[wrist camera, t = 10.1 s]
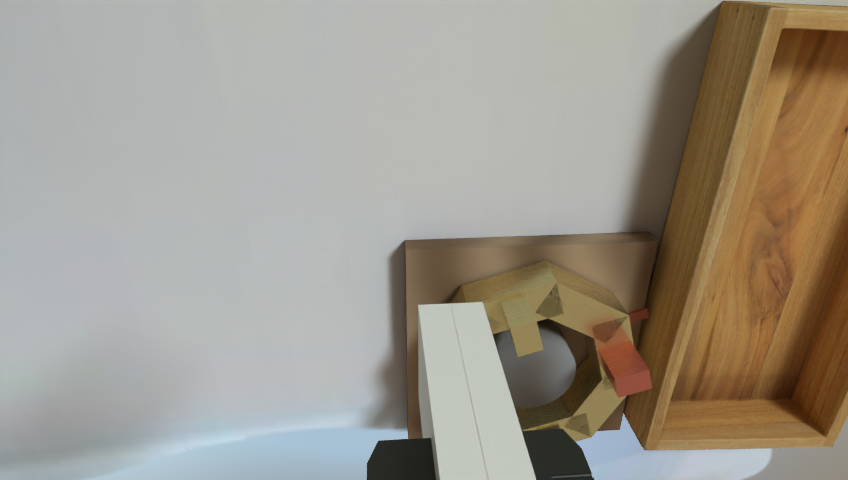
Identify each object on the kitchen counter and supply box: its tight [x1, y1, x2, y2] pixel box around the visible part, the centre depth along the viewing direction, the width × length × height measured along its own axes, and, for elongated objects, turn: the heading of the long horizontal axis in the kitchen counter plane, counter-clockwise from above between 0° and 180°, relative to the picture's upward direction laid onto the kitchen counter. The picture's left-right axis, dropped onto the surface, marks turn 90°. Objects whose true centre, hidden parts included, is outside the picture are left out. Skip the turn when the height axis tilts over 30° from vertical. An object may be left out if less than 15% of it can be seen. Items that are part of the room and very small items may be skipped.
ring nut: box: [451, 261, 652, 441], centre depth 40 cm, size 14×14×6 cm
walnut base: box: [405, 232, 658, 439], centre depth 43 cm, size 17×17×4 cm
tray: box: [623, 1, 848, 450], centre depth 40 cm, size 31×15×6 cm, turn 177°
